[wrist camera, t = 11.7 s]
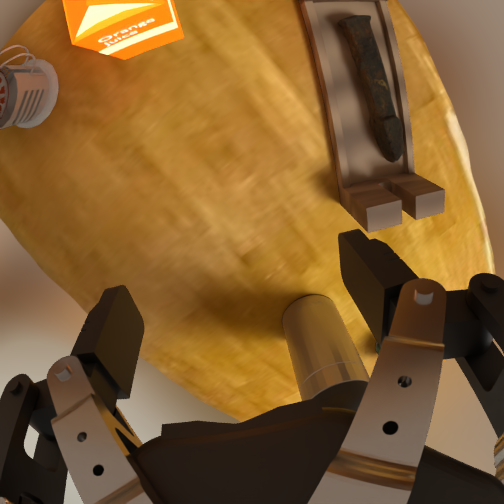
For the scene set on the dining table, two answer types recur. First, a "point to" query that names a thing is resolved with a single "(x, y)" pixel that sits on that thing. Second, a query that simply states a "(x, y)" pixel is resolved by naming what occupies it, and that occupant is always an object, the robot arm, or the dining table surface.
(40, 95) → the french press
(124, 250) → the dining table surface
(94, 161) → the dining table surface
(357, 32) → the hand tool
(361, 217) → the cradle
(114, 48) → the orange juice
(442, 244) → the dining table surface
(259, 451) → the robot arm
